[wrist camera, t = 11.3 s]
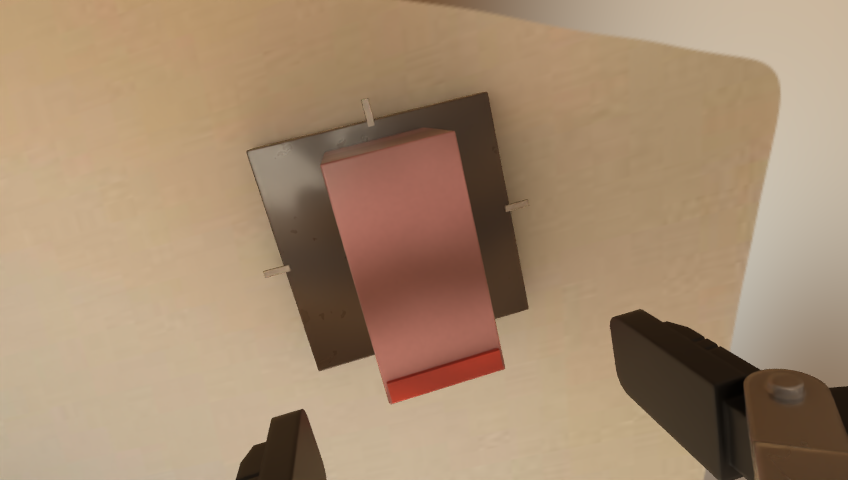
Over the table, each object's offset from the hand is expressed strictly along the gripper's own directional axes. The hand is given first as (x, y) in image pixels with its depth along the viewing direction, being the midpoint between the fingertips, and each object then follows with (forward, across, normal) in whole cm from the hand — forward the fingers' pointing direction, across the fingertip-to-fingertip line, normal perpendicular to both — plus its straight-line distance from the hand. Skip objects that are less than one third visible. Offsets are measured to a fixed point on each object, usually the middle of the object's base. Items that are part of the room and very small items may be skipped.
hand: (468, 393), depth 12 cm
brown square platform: (+18, 0, 0) cm, 18 cm away
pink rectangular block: (+16, 0, 0) cm, 16 cm away
